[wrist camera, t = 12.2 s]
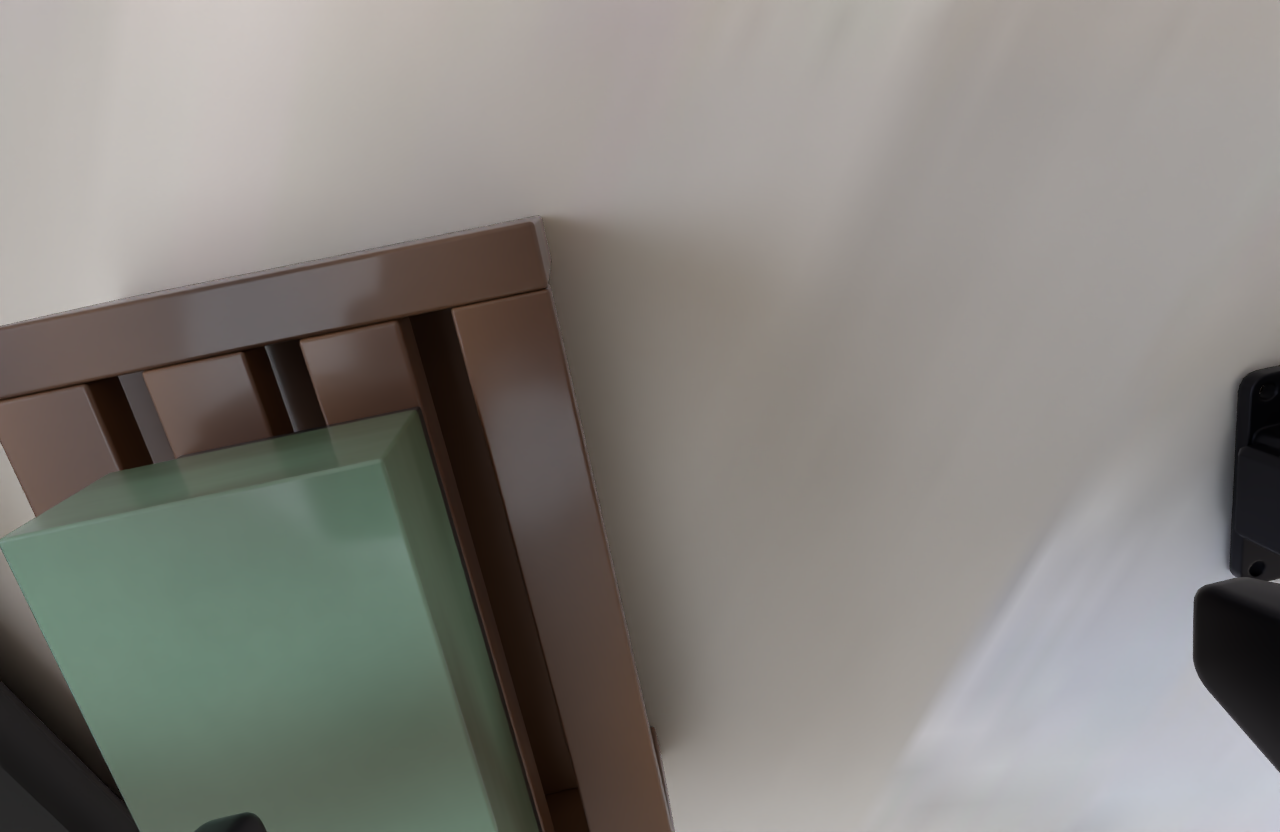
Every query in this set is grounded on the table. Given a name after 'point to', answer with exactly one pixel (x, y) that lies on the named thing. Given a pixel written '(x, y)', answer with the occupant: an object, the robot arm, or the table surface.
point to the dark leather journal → (49, 780)
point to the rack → (371, 385)
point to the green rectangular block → (280, 637)
